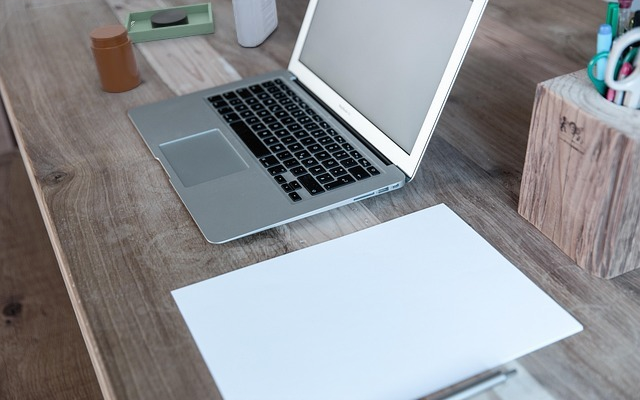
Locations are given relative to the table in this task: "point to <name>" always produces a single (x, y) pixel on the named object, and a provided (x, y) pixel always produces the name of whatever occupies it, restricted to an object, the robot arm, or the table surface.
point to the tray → (198, 25)
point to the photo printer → (254, 20)
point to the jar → (115, 58)
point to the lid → (169, 19)
